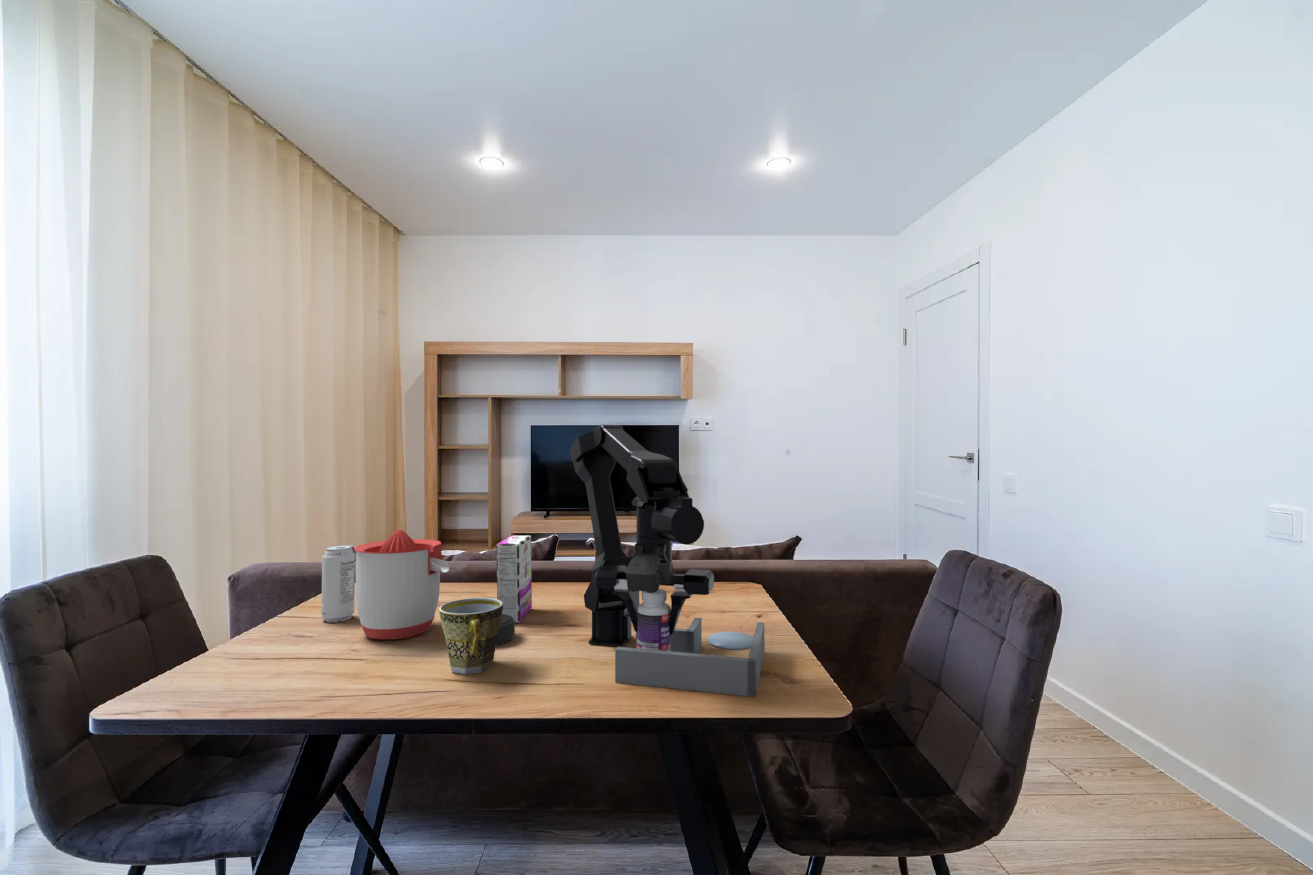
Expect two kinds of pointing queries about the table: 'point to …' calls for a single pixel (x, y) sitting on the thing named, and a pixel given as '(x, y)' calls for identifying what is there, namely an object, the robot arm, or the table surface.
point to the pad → (731, 640)
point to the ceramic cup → (471, 633)
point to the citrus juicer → (398, 585)
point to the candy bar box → (514, 576)
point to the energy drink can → (338, 583)
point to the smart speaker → (506, 629)
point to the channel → (692, 665)
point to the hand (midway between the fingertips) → (654, 632)
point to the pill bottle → (654, 622)
